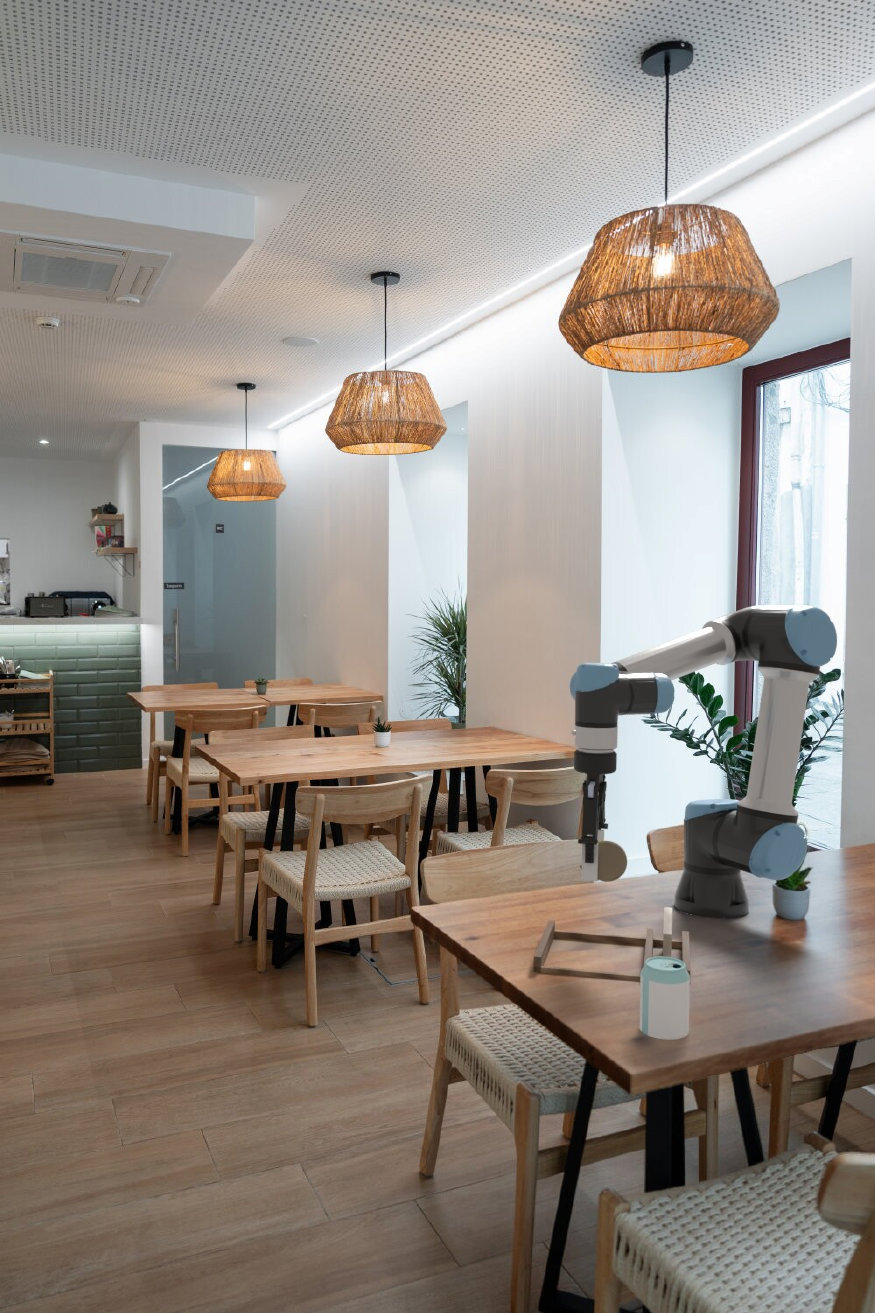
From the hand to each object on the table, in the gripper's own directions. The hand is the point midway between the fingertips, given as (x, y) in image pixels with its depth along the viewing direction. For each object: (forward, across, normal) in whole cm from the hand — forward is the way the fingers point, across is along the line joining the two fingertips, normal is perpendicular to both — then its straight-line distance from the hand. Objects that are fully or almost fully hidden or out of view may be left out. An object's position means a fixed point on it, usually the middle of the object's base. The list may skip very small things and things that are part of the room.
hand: (592, 872), depth 177 cm
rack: (+16, +1, +4) cm, 17 cm away
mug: (+2, -2, +1) cm, 3 cm away
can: (+16, +31, +14) cm, 37 cm away
